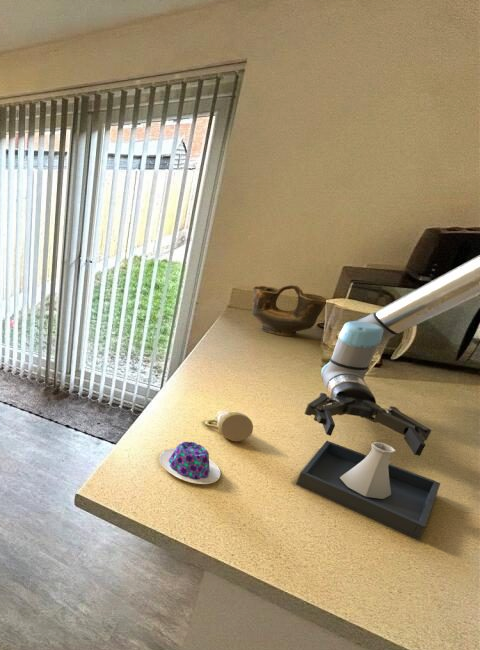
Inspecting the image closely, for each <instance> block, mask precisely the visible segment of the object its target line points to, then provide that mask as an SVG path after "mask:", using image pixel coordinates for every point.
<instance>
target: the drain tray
mask: <svg viewBox="0 0 480 650" xmlns="http://www.w3.org/2000/svg"><path fill="white" fill-rule="evenodd" d="M367 455H368V454H364V453H361V452H359V451H356V450H354V449H351V448H348V447H346V446H343V445H341V444H337V443H334V442H333V441H332V442H331V441H329V440H326V441H325V442H324V443H323V444H322V446H321V447H320V448H319V449H318V451H316V453H315V454H314V455H313V457H312V458H311V459H310V460H309V461H308V462H307V464H306V465H305V466H304V467H303V469H302V470H301V471H300V473H299V475H298V478H297V480H296V483H295V485H296V486H299V487H300V488H303V489H305V490H307V491H309V492H312V493H314V494H316V495H318V496H320V497H321V498H324V499H326V500H329V501H331V502H333V503H334V504H338V505H339V506H342V507H344V508H346V509H349V510H350V511H352V512H355V513H357V514H359V515H361V516H364V517H366V518H368V519H369V520H372V521H374V522H376V523H379V524H381V525H383V526H385V527H387V528H389V529H392V530H394V531H396V532H398V533H401V534H403V535H405V536H407V537H409V538H411V539H414V540H416V541H418V540H419V538H420V536H421V535H422V533H423V532H424V530H425V529H426V525H427V523H428V520H429V517H430V515H431V512H432V509H433V506H434V503H435V500H436V498H437V494H438V491H439V488H440V486H441V482H439V481H437V480H434V479H432V478H429V477H426V476H423V475H420V474H417V473H415V472H413V471H410V470H408V469H404V468H402V467H399V466H397V465H393V464H392V463H389V465H388V470H389V481H390V488H391V495H390V496H388V497H386V498H384V499H379V498H372V497H365V496H363V495H362V494H360V493H358V492H356V491H354V490H352V489H351V488H349V487H347V485H346V484H345V483H344V482H343V481H342V480H341V479H340V477H341V476H342V475H344V474H345V473H346V472H348V471H349V470H351V469H352V468H353V467H355V466H356V465H357V464H359V463H360V462H361V461H362V460H364V459H365V457H366V456H367Z"/></svg>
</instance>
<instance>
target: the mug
mask: <svg viewBox="0 0 480 650" xmlns="http://www.w3.org/2000/svg"><path fill="white" fill-rule="evenodd" d="M214 418H215V419H208V420H206V421H205V422H204V425H205V426H207V428H213V429H214V430H215V429H216V430H217V431H219V433H220V435H222V436H223V437H224V438H225V439H227V440H229V441H232V442H242V441H244V440H246V439H248V438H249V437H250V436H251V435H252V434H253V431H254V424H253V422H252V420H251V419H250V417H249V416H248V415H246V414H244V413H242V412H239V411H233V410H231V411H228V410H219V411H218V412H217V413H216V414H215V417H214ZM211 423H212V424H211ZM213 423H215V424H213Z"/></svg>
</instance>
